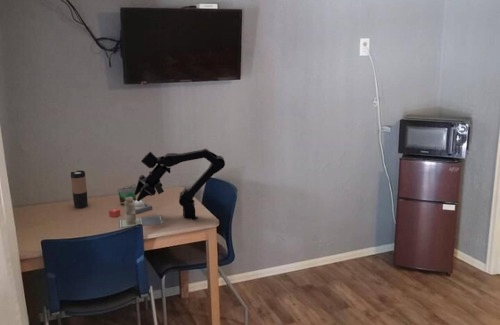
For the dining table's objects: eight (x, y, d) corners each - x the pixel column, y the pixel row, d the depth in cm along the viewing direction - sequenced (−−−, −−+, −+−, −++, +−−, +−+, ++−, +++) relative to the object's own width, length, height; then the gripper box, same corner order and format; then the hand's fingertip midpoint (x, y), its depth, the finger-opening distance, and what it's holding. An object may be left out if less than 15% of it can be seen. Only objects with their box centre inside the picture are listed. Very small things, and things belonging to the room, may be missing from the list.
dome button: (147, 210, 258) (146, 199, 256) (137, 213, 253) (136, 202, 252) (140, 207, 262) (139, 197, 260) (130, 210, 258) (129, 199, 256)
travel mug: (85, 208, 263) (82, 174, 258) (71, 208, 263) (68, 174, 258) (90, 204, 270) (86, 170, 265) (77, 204, 270) (73, 170, 265)
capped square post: (134, 220, 241) (133, 196, 238) (136, 223, 237) (134, 198, 234) (125, 221, 240) (124, 197, 237) (126, 224, 236) (125, 199, 232)
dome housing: (152, 211, 258) (152, 205, 257) (135, 215, 251) (135, 210, 250) (141, 206, 265) (141, 201, 264) (125, 211, 258) (125, 206, 257)
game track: (161, 217, 248) (161, 215, 248) (164, 225, 237) (163, 223, 237) (118, 221, 243) (118, 219, 242) (118, 230, 232) (118, 227, 231)
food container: (125, 207, 264) (123, 190, 262) (118, 205, 268) (116, 188, 265) (142, 201, 274) (141, 185, 271) (135, 199, 277) (134, 183, 275)
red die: (120, 216, 250) (119, 208, 249) (115, 219, 246) (114, 211, 245) (114, 215, 251) (113, 207, 250) (109, 218, 248) (108, 210, 247)
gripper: (172, 189, 233) (151, 213, 233) (164, 178, 250) (145, 200, 249) (155, 176, 228) (133, 200, 228) (148, 165, 245) (129, 188, 245)
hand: (136, 197), depth 238 cm, fingers open, 9 cm apart
